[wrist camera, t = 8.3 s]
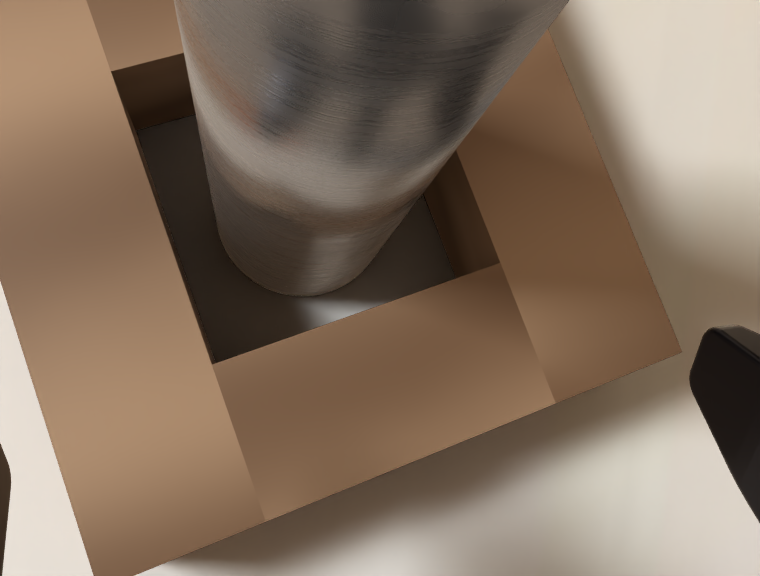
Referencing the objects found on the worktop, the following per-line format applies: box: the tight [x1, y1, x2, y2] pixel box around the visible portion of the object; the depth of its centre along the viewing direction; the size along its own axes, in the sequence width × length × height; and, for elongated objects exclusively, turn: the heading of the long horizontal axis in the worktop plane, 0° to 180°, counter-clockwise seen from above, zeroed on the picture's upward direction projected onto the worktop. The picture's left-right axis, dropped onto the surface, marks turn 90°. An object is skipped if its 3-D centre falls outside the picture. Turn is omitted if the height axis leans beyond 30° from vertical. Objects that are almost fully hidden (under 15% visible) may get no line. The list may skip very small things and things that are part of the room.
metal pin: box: [174, 0, 569, 296], centre depth 11 cm, size 4×4×12 cm
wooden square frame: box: [0, 0, 682, 576], centre depth 16 cm, size 12×12×3 cm
